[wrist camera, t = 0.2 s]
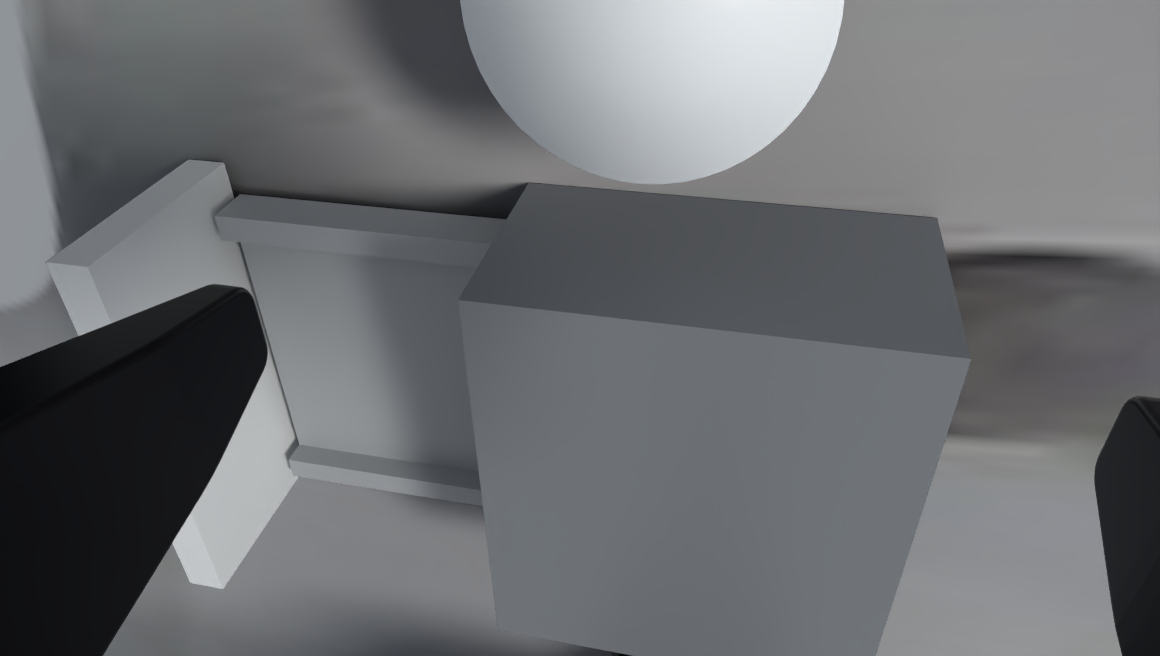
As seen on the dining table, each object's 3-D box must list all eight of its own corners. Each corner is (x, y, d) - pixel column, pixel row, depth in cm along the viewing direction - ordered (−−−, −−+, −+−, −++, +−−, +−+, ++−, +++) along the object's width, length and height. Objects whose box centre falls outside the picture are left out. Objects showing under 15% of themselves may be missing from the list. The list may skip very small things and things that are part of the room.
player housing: (853, 538, 29) (861, 699, 24) (545, 490, 31) (497, 630, 26) (937, 218, 22) (971, 359, 17) (528, 182, 24) (457, 300, 19)
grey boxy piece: (556, 500, 31) (509, 644, 26) (280, 456, 33) (190, 582, 28) (542, 190, 23) (472, 312, 19) (188, 159, 25) (45, 262, 21)
